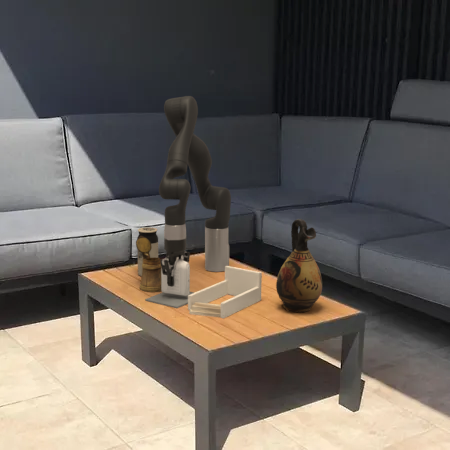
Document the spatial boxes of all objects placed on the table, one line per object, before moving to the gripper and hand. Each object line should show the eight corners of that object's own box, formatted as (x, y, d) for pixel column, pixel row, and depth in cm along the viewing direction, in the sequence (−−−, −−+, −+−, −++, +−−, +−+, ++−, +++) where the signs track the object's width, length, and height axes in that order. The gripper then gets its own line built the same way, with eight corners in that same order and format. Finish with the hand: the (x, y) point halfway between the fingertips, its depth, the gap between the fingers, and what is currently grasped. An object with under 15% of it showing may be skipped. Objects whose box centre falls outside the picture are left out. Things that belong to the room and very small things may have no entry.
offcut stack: (194, 310, 239) (194, 301, 239) (225, 313, 236) (225, 305, 236) (189, 315, 235) (189, 306, 234) (220, 318, 232) (221, 309, 231)
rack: (226, 292, 257) (227, 265, 255) (261, 300, 249) (261, 272, 247) (188, 309, 239) (187, 280, 237) (223, 318, 231) (223, 288, 229)
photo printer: (191, 293, 250) (191, 259, 247) (186, 296, 246) (186, 262, 243) (165, 289, 254) (164, 256, 251) (159, 293, 250) (159, 259, 247)
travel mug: (154, 270, 284) (154, 226, 280) (161, 276, 277) (160, 230, 273) (135, 272, 281) (134, 228, 277) (141, 278, 274) (140, 232, 270)
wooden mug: (152, 280, 271) (151, 234, 267) (169, 289, 260) (168, 241, 256) (130, 284, 266) (129, 237, 262) (147, 293, 255) (146, 244, 251)
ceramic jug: (330, 312, 238) (333, 223, 231) (288, 317, 232) (291, 227, 225) (305, 297, 253) (308, 213, 247) (265, 302, 247) (267, 217, 241)
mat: (174, 289, 261) (174, 287, 260) (205, 296, 253) (205, 294, 253) (145, 300, 248) (145, 299, 248) (177, 308, 240) (177, 306, 240)
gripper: (179, 231, 253) (179, 277, 257) (153, 238, 242) (154, 287, 246) (196, 234, 249) (196, 281, 253) (170, 242, 238) (171, 291, 241)
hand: (175, 283), depth 249 cm, fingers closed on photo printer, 5 cm apart
